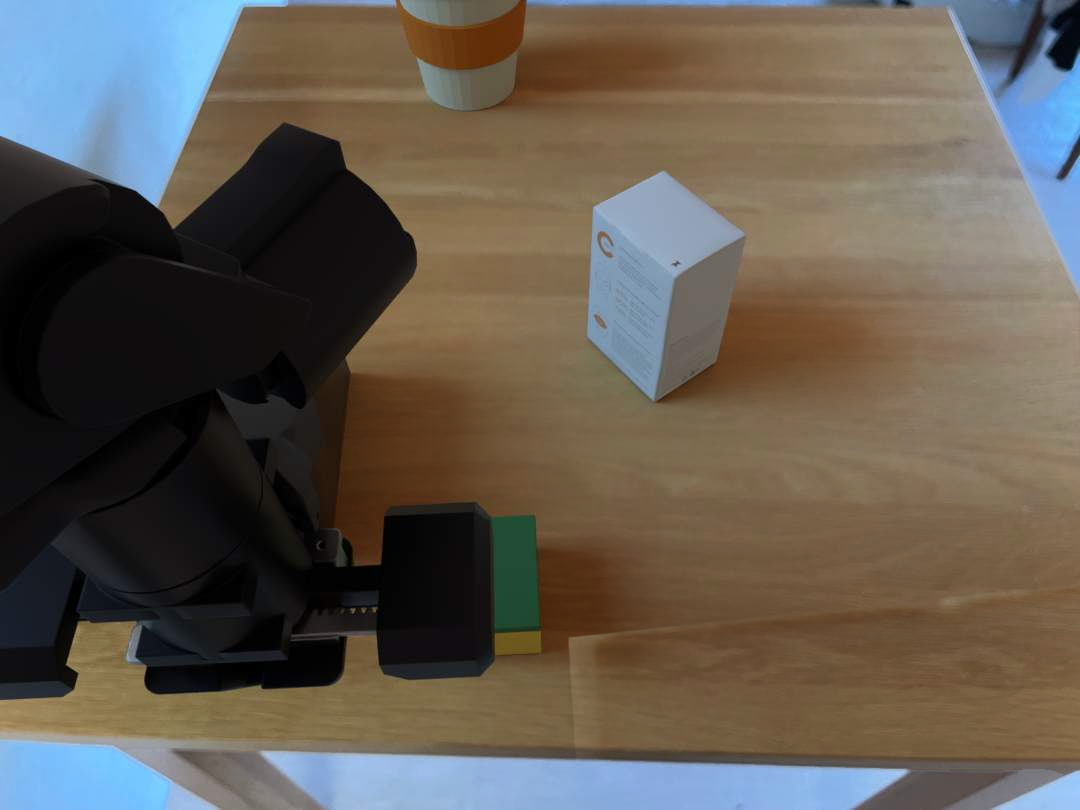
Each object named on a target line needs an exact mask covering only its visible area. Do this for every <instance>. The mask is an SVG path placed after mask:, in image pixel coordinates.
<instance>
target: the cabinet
mask: <svg viewBox="0 0 1080 810" xmlns="http://www.w3.org/2000/svg"><path fill="white" fill-rule="evenodd" d="M346 357H347V356H346ZM346 357H345V359H344V360H343V361H342V362H341V363H340V364H339V366H338V367H337V368H336V369H335V370H334V372H333V373H332V374H331V375H330V376H329V378H328V379H327V380H326V381H325V382H324V384H323V385H322V386H321V387H320V388H319V390H318V391H317V392H316V393H315V394H314V398H315V403H316V407H317V411H318V416H319V420H320V425H321V429H322V434H323V443H322V446H321V447H320V448H319V450H318V453H317V456H316V460H315V463H314V467H313V470H312V473H311V480H310V481H311V483H312V485H313V487H314V489H315V491H316V493H317V495H318V497H319V499H320V501H321V510H320V519H319V527H318V529H326V528H335V527H334V526H335V517H336V509H337V508H336V507H337V499H338V490H339V482H340V481H339V480H340V473H341V472H340V471H341V463H342V453H343V445H344V435H345V428H346V427H345V426H346V417H347V407H348V401H349V400H348V399H349V391H350V379H351V370H350V367H349V364H348V360H347V358H346Z"/></svg>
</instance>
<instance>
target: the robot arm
mask: <svg viewBox="0 0 1080 810" xmlns="http://www.w3.org/2000/svg"><path fill="white" fill-rule="evenodd" d="M417 268H418V250H417V246H416V243H415V239H414V237H413V236H412V234H410V233H409V232H408V231H406V230H405V229H404V227H403V225H402V222H401V221H400V220H399V218H397V216H396V214H395V213H394V211H393V210H392V209H391V207H390V206H389V205H388V204H387V202H386V201H385V200H384V199H383V198H382V197H381V196H380V195H379V194H378V193H377V192H376V191H375V190H374V189H373V187H371V186H370V185H369V184H368V183H366V181H364V180H363V179H361V178H360V177H359V176H358V175H356V174H355V173H354V172H353V171H351V170H350V169H348V167H347V164H346V159H345V157H344V154H343V148H342V145H341V142H340V140H338V139H334V138H331V137H329V136H327V135H323V134H320V133H317V132H315V131H311V130H309V129H306V128H303V127H301V126H297V125H295V124H292V123H289V122H286V121H283V122H282V123H281V124H280V125H279V126H278V127H276V128H275V129H274V130H273V131H271V133H270V134H269V135H267V137H265V138H264V139H263V140H262V141H261V143H259V144H258V145H257V147H256V148H255V149H254V151H253V152H252V154H251V155H250V157H249V158H248V159H247V161H246V162H245V163H244V164H243V165H242V166H241V167H240V168H239V169H238V170H237V171H235V173H234V174H232V175H231V177H229V178H228V179H227V180H226V181H225V182H223V183H222V184H221V185H220V186H219V187H218V188H217V189H215V191H214V192H213V193H212V194H210V195H209V196H208V197H207V198H206V199H205V200H203V202H202V203H201V204H199V205H198V206H197V207H196V208H195V209H194V210H193V211H192V212H190V213H189V214H188V215H187V216H186V217H185V218H184V219H183V220H182V221H180V222H179V223H178V224H177V225H176V226H174V228H173V227H172V225H171V222H169V220H168V218H167V216H166V215H165V213H164V212H163V211H162V210H160V208H158V207H157V206H155V204H153V203H152V202H151V201H150V200H148V199H147V198H146V197H144V195H142V194H141V193H139V192H138V191H137V190H136V189H133V188H130V187H128V186H125V185H122V184H120V183H118V182H115V181H113V180H111V179H108V178H105V177H104V176H101V175H98V174H97V173H94V172H91V171H88V170H86V169H83V168H81V167H79V166H76V165H73V164H71V163H69V162H67V161H64V160H61V159H59V158H56V157H54V156H51V155H49V154H46V153H44V152H42V151H40V150H36V149H34V148H32V147H29V146H27V145H24V144H22V143H20V142H17V141H14V140H12V139H10V138H8V137H4V136H2V135H0V701H10V700H11V701H12V700H34V699H53V698H56V699H57V698H64V697H66V696H67V695H68V694H70V693H71V692H73V691H74V690H75V688H76V685H77V681H78V677H79V674H80V673H79V672H78V671H76V669H75V670H74V669H73V668H72V667H70V666H68V665H67V664H68V660H69V657H70V653H71V650H72V646H73V642H74V639H75V635H76V633H77V628H78V625H79V623H81V622H82V623H83V622H85V623H86V622H89V623H90V624H106V623H107V624H109V623H126V622H128V623H129V622H136V624H135V625H134V626H133V628H132V630H131V632H130V636H129V641H128V645H127V647H126V648H127V649H126V654H125V660H126V661H127V662H128V663H129V664H130V665H133V666H141V665H142V666H143V665H144V666H145V667H146V669H145V671H144V676H143V684H144V687H145V688H146V690H147V691H148V692H150V693H151V694H153V695H157V696H162V695H163V696H164V695H181V694H182V695H183V694H185V695H186V694H202V693H222V692H229V691H234V690H242V689H246V688H252V687H259V686H260V688H261V689H262V690H283V689H285V690H287V689H305V688H325V687H326V688H327V687H331V686H333V685H336V683H338V682H339V681H340V680H341V679H342V677H343V675H344V673H345V667H346V657H347V646H348V645H347V644H348V637H354V636H355V637H357V636H376V646H377V647H376V648H377V658H378V659H377V660H378V667H379V668H380V670H381V672H382V674H383V675H384V676H389V677H393V678H398V679H402V680H407V681H421V680H422V681H423V680H442V679H443V680H444V679H445V680H446V679H461V678H462V679H463V678H480V677H481V676H483V674H484V673H485V672H486V671H487V670H488V669H489V668H490V667H491V666H492V665H493V664H494V662H496V655H495V615H494V535H493V528H492V521H491V517H492V516H491V515H490V514H489V513H488V512H487V511H486V510H485V509H484V508H483V507H482V506H481V505H480V504H479V503H478V502H477V501H466V502H465V501H464V502H445V503H444V502H443V503H423V504H402V505H401V504H400V505H389V506H388V509H386V512H385V514H384V515H383V527H382V541H381V542H382V544H381V555H380V556H381V557H380V564H363V565H362V564H361V565H355V559H354V557H355V556H354V548H353V544H352V543H351V541H350V540H349V539H347V538H346V537H344V536H343V533H342V532H341V530H340V529H339V528H336V527H334V528H326V529H318V527H319V519H320V510H321V501H320V499H319V497H318V495H317V493H316V491H315V489H314V487H313V485H312V483H311V481H310V480H311V473H312V470H313V467H314V463H315V460H316V456H317V453H318V450H319V448H320V447H321V446H322V443H323V434H322V429H321V425H320V420H319V416H318V411H317V407H316V403H315V398H314V394H315V393H316V392H317V391H318V390H319V388H320V387H321V386H322V385H323V384H324V382H325V381H326V380H327V379H328V378H329V376H330V375H331V374H332V373H333V372H334V370H335V369H336V368H337V367H338V366H339V364H340V363H341V362H342V361H343V360H344V359H345V357H347V356H348V355H349V354H350V353H351V351H353V349H354V348H355V346H357V344H358V343H359V342H360V341H361V339H362V338H363V337H364V336H365V335H366V334H367V332H368V331H369V330H370V329H371V328H372V327H373V325H374V324H375V323H376V322H377V321H378V319H379V318H380V317H381V316H382V315H383V313H384V312H385V311H386V310H387V309H388V308H389V306H390V305H391V304H392V302H393V301H394V300H395V299H396V298H397V297H398V296H399V294H400V293H401V292H402V291H403V289H404V288H405V287H406V286H407V285H408V284H409V282H410V281H411V280H412V278H413V277H414V276H415V273H416V271H417ZM375 608H376V610H375V612H374V609H375ZM363 609H365V611H364V612H363ZM352 610H354V612H352Z"/></svg>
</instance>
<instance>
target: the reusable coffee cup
mask: <svg viewBox="0 0 1080 810" xmlns="http://www.w3.org/2000/svg"><path fill="white" fill-rule="evenodd" d="M527 1H528V0H395V4H396V8H397V11H398V14H399V18H400V22H401V25H402V29H403V31H404V35H405V39H406V42H407V46H408V48H409V50H410V51H411V53H412V55H414V56H415V57H416V61H417V65H418V68H419V71H420V74H421V78H422V80H423V86H424V87H425V91H426V94H427V95H428V97H429V99H431V100H432V101H433V102H434V103H436V104H437V105H439V106H441V107H444V108H446V109H450V110H455V111H462V112H468V111H469V112H471V111H473V112H474V111H478V110H485V109H488V108H491V107H494V106H496V105H498V104H500V103H501V102H504V101H505V100H506V99H507V98H508V97H509V96H510V95H511V94H512V93H513V90H514V87H515V83H516V72H517V62H518V61H517V60H518V49H519V48H520V46H521V44H522V42H523V39H524V32H525V23H526V22H525V21H526V14H527V13H526V11H527V3H528V2H527Z"/></svg>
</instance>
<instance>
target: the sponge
mask: <svg viewBox="0 0 1080 810" xmlns="http://www.w3.org/2000/svg"><path fill="white" fill-rule="evenodd" d="M491 521H492V528H493V535H494V615H495V656H508V655H509V656H510V655H526V654H528V655H529V654H541V653H542V652H543V649H542V629H541V627H542V626H541V608H540V607H541V606H540V605H541V604H540V587H539V585H540V584H539V565H538V542H537V522H536V515H535V514H528V515H527V514H526V515H508V516H507V515H506V516H491Z"/></svg>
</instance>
